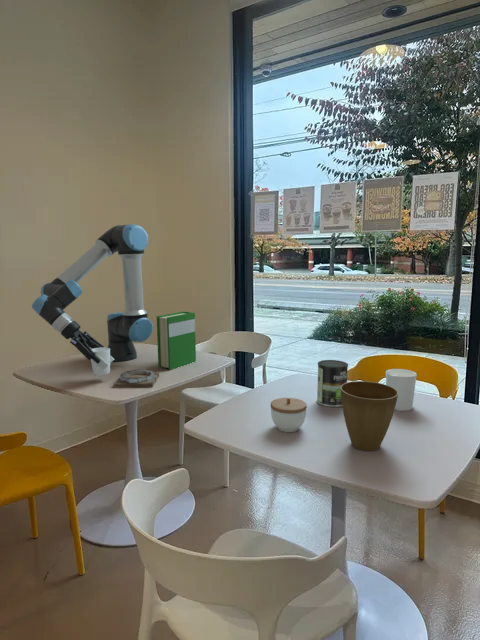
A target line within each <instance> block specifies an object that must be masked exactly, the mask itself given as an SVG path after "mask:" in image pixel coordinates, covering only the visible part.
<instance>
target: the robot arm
mask: <svg viewBox="0 0 480 640" xmlns="http://www.w3.org/2000/svg"><path fill="white" fill-rule="evenodd" d="M148 244H149V235H148V233H147V231H146V229H144V227H142V226H141V225H138V224H132V223H130V224H121V225H120V224H119V225H115V226H113V227H111V228H109V229H108V230H106V231H105V232H104V233H103V234H101V235H100V236H99V237H98V238H97V239H96V240H95V243H94V245H92V246H91V247H90V248H89V249H88V250H86V251H85V252H84V253H83V254H82V255H81V256H79V258H77V259H76V260H75V261H74V262H73V263H72V264H71V265H69V267H67V268H66V269H65V270H64V271H62V272H61V273H60V274H59V275H57V277H56V278H54V279H53V280H52V281H51V282H48V283H47V282H46V283H44V284H43V285H42V286H41V287H40V296H39V297H37V298H36V299H35V300H34V301H33V303H32V304H31V308H32V310H33V311H35V313H36V314H37V315H38V316H40V317H41V319H43V320H45V322H47V323H48V325H50V326H51V327H52V328H53V330H55V331H57V332H58V333H60V335H61V336H62V337H64V338H65V339H66V340H69V339H71V340H70V341H69V343H70V344H71V345H72V346H74V347H75V348H76V349H77V350H78V351H79V352H80V353H81V355H83V356H84V357H85V358H86V359H87V360H88V361H91V359H92V360H93V361H94V362H96V363H97V364H98V365H99V366H100V367H101V368H102V369H103V370H104V369H105V368H106V367H107V366H108V365H109V364H107V363H106V362H105V361H104V360H103V359H102V358H101V357H100V356H99V355H97V354H96V355H95V353H94V352H93V351H92V349H94V348H100V347H105V346H104V345H103V344H101V343H100V342H99V341H98V340H96V339H95V338H94V337H93V336H91V335H90V334H89V333H88V332H87V331H81V330H80V328H81V325H80V324H79V323H78V322H76V320H73V317H71V316H70V315H69V314H68V313H66V311H64V310H65V309H66V308H67V307H68V306H70V305H71V304H72V303H73V302H74V301H75V300H77V299H78V298H79V297H80V296H81V295H82V294H83V289H82V287H81V286H80V285H79V284H78V283H79V282H80V281H81V280H82V279H84V278H85V277H86V276H87V275H89V273H90V272H91V271H93V270H94V269H95V268H96V267H97V266H98V265H99V264H100V263H102V262H103V261H104V260H105V259H106V258H107V257H111V256H113V255H114V254H115V253H117V255H118V256H119V257H120V258H121V264H122V266H121V267H122V276H123V277H122V279H123V295H124V311H123V312H122V311H121V312H112V313H111V312H110V313H109V314H107V315H106V316H107V317H106V323H107V335H108V336H107V340H108V342H107V343H108V345H107V347H106V348H110V365H111V364H112V363H113V362H127V361H131V360H134V359H136V358H138V355H137V353H138V352H137V350H136V347H135V345H134V343H142V342H143V343H144V342H145V341H147V340H148V339H150V337H151V335H152V333H153V330H154V326H153V322H152V321H151V320H150V319H149V317H148V315H149V314H148V312H147V310H145V306H144V289H143V288H144V287H143V286H144V285H143V269H142V258H143V256H144V255H145V249H146V248H147V246H148Z"/></svg>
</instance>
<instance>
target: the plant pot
mask: <svg viewBox="0 0 480 640" xmlns="http://www.w3.org/2000/svg"><path fill="white" fill-rule="evenodd" d="M340 389H341V400H342V406H341V407H342V412H343V413H342V414H343V416H344V421H345V426H346V429H347V433H348V437H349V440H350V442H351V445H352V446H353V447H354V448H356V449H358V450H361V451H365V452H366V451H367V452H369V451H370V452H373V451H376V450H379V449H380V446H381V445H382V443H383V441H384V439H385V437H386V436H387V435H386V434H387V432H388V430H389V427H390V425H391V422H392V419H393V416H394V413H395V411H396V410H395V406H396V402H397V397H398V391H397V390H396V389H395V388H393V387H391V386H388V385H386V383H380V382H374V381H365V380H364V381H363V380H361V381H360V380H359V381H358V380H357V381H347V383H344V384H342V385H341V387H340Z"/></svg>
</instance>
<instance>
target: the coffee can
mask: <svg viewBox="0 0 480 640" xmlns="http://www.w3.org/2000/svg"><path fill="white" fill-rule="evenodd" d="M348 367H349V364H348V362H345V361H342V360H338V359H324V360H323V359H322V360H320V361H318V362H317V390H316V391H317V395H316V396H317V398H316V399H317V400H316V402H317V404H319V405H321V406H323V407H329V408H340V407H342V400H341V389H340V387H341V385H342V384H344V383H347V382H348Z"/></svg>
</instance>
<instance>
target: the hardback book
mask: <svg viewBox="0 0 480 640" xmlns="http://www.w3.org/2000/svg"><path fill="white" fill-rule="evenodd" d="M156 336H157V337H156V338H157V365H158V369H162V368H167V369H168V371H172V370H175V369H178V367H179V368H182V367H184V365H185V366H187V364H188V365H190V363H191V364H193V363H192V362H194V363H196V362H197V356H196V355H197V350H196V348H197V347H196V344H197V343H196V341H197V340H196V313H195V312H194V311H193V312H192V311H177V312H172V313H166V314H161V315H157V316H156ZM195 361H196V362H195ZM181 366H182V367H181Z"/></svg>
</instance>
